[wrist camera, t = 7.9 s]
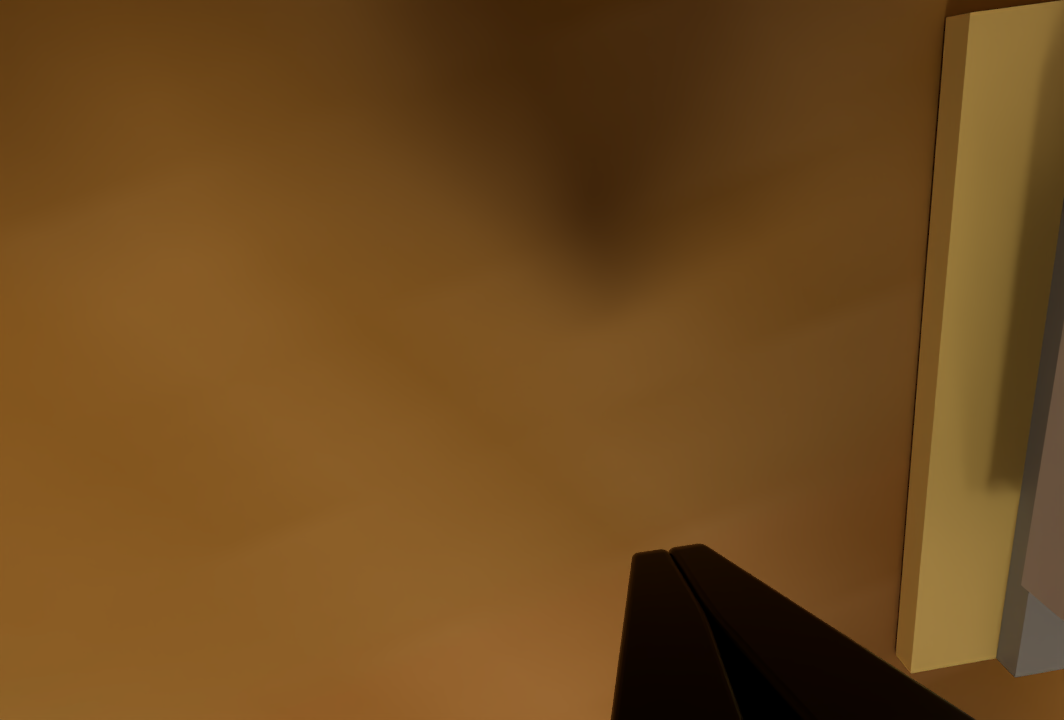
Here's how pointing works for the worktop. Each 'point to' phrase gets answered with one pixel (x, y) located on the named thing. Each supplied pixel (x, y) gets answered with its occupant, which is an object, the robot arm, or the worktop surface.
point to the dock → (987, 347)
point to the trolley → (1049, 508)
